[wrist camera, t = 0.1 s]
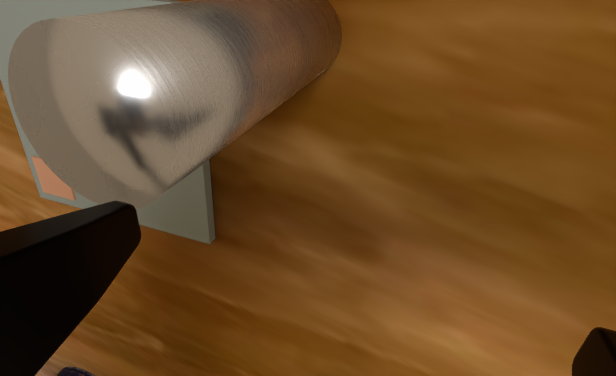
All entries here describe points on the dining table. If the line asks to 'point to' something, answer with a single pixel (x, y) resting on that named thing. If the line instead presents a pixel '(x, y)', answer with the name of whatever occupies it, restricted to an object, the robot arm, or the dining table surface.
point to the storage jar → (73, 372)
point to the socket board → (158, 215)
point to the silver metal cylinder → (160, 86)
